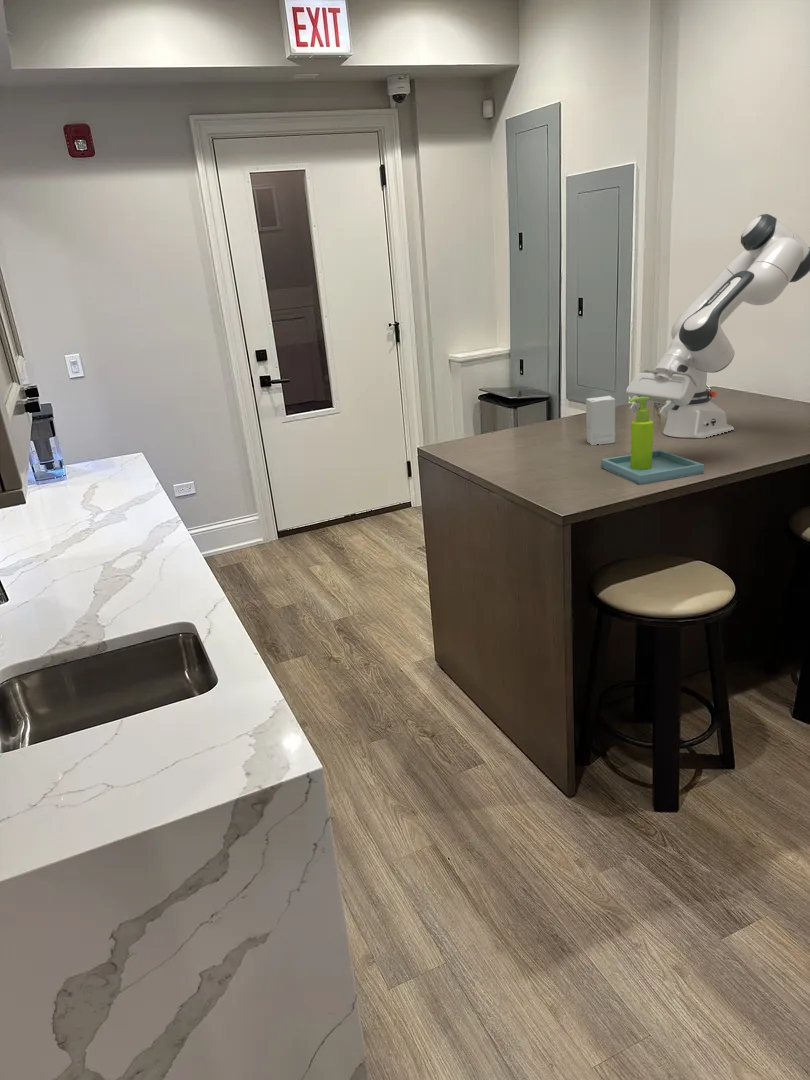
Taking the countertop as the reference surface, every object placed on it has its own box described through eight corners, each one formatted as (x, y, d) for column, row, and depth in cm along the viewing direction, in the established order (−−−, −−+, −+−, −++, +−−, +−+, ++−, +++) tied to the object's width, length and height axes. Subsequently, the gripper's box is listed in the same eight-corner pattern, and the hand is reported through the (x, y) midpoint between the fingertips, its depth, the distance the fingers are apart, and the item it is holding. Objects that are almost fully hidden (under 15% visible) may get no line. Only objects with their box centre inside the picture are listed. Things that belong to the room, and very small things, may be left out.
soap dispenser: (623, 465, 213) (625, 396, 206) (646, 463, 214) (649, 394, 207) (631, 470, 208) (633, 400, 201) (655, 468, 208) (657, 397, 201)
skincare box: (610, 439, 246) (610, 395, 241) (615, 443, 240) (616, 398, 235) (585, 441, 246) (585, 397, 241) (590, 446, 240) (590, 400, 235)
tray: (660, 457, 221) (660, 449, 220) (703, 473, 203) (704, 464, 202) (600, 467, 216) (601, 459, 215) (639, 484, 198) (640, 475, 197)
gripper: (636, 363, 215) (612, 402, 213) (696, 368, 198) (670, 410, 197) (646, 376, 218) (622, 414, 217) (706, 382, 202) (680, 424, 201)
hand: (645, 412), depth 207 cm, fingers open, 8 cm apart
